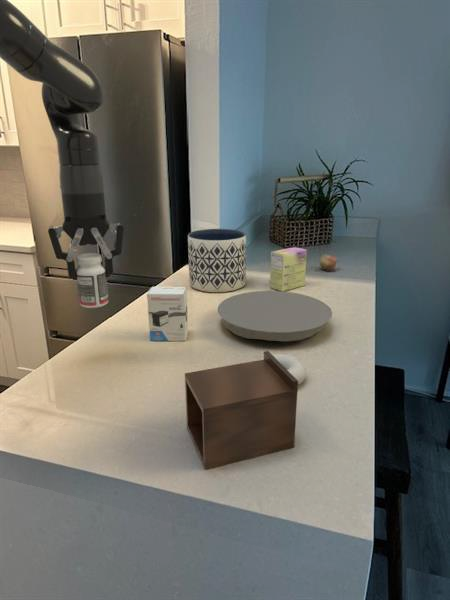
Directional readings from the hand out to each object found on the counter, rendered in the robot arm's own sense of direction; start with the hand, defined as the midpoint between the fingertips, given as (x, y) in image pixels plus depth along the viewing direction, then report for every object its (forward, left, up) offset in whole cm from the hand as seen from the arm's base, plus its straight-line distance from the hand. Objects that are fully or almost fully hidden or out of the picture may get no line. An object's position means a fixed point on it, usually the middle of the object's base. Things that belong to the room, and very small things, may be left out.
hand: (91, 277), depth 85 cm
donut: (+32, -20, -18) cm, 42 cm away
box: (+60, +30, -18) cm, 70 cm away
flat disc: (+42, +4, -18) cm, 46 cm away
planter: (+40, +40, -18) cm, 59 cm away
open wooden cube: (+18, -34, -18) cm, 43 cm away
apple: (+82, +42, -18) cm, 94 cm away
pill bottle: (0, 0, -6) cm, 6 cm away
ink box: (+16, +6, -18) cm, 25 cm away
